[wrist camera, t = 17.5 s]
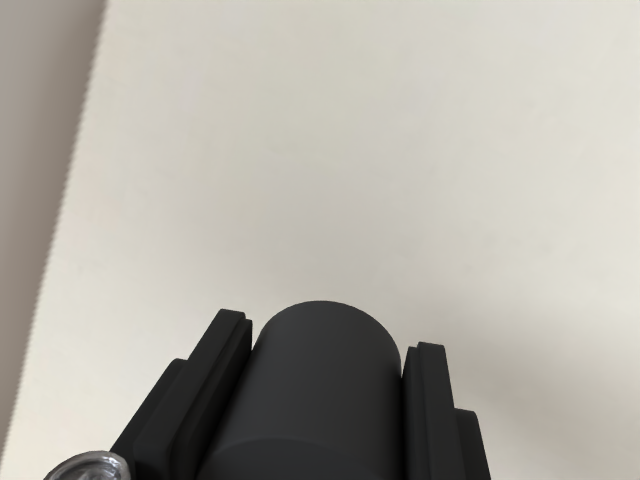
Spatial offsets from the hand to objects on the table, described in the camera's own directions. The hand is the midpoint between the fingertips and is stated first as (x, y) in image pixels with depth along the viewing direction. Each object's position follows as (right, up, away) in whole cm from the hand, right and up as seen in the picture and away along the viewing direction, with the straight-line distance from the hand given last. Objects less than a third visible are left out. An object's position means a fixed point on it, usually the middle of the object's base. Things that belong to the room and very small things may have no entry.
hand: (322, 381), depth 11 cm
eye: (0, 0, +1) cm, 1 cm away
